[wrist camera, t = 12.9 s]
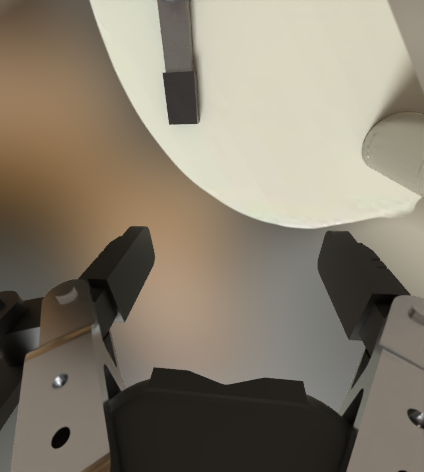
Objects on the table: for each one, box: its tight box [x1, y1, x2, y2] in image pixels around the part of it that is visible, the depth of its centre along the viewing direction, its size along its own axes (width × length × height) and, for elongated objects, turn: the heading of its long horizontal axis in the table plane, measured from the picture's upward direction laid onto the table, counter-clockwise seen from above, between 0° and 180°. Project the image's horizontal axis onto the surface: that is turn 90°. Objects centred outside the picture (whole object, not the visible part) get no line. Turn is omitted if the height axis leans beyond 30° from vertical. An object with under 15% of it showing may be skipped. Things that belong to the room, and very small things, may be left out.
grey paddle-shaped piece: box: [157, 0, 199, 125], centre depth 31 cm, size 24×9×3 cm, turn 2°
